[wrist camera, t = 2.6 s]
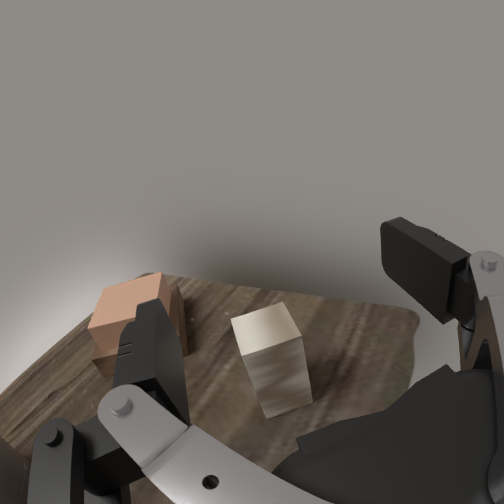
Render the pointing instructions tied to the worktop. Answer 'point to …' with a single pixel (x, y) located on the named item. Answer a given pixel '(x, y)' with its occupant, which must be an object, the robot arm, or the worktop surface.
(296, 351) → the cream block
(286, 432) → the worktop surface
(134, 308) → the tower top block
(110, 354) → the tower base block
